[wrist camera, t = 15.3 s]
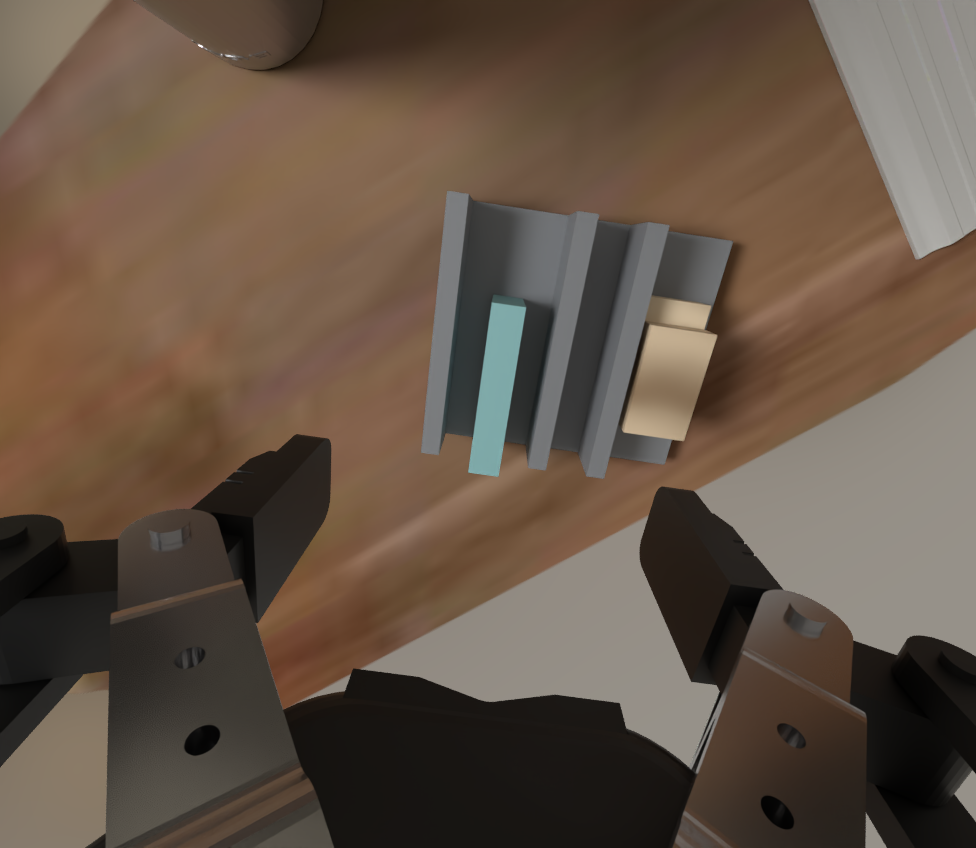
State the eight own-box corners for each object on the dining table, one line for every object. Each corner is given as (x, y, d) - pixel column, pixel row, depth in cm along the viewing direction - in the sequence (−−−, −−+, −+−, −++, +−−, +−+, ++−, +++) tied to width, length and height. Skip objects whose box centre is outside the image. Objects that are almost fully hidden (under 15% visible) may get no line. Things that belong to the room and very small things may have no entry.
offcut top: (642, 320, 30) (652, 325, 28) (704, 329, 30) (717, 335, 28) (616, 421, 32) (623, 432, 30) (673, 430, 32) (683, 441, 31)
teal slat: (491, 302, 27) (468, 472, 31) (526, 307, 27) (498, 476, 31) (493, 294, 32) (472, 442, 35) (522, 298, 32) (499, 446, 35)
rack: (449, 199, 31) (438, 189, 26) (722, 241, 31) (765, 240, 26) (426, 422, 37) (413, 451, 31) (658, 456, 37) (683, 490, 32)
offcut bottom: (640, 293, 31) (649, 296, 29) (699, 302, 31) (711, 305, 29) (612, 405, 34) (618, 414, 32) (665, 413, 34) (675, 423, 32)
